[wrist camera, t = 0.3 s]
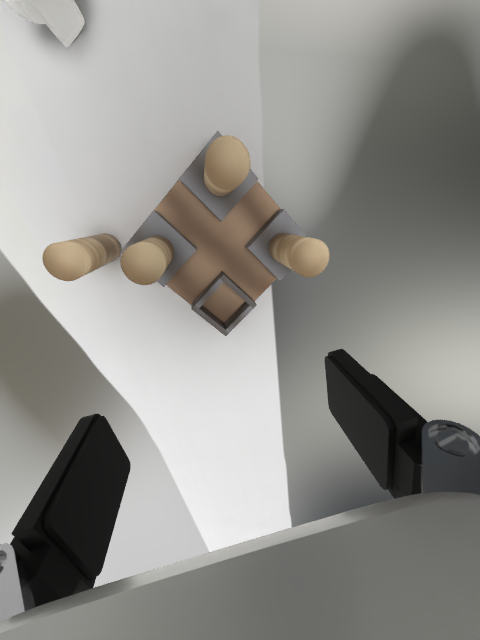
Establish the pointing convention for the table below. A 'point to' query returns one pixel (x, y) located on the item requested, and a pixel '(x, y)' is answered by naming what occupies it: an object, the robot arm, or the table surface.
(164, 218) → the stool
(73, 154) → the table surface
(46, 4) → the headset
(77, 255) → the oak leg
